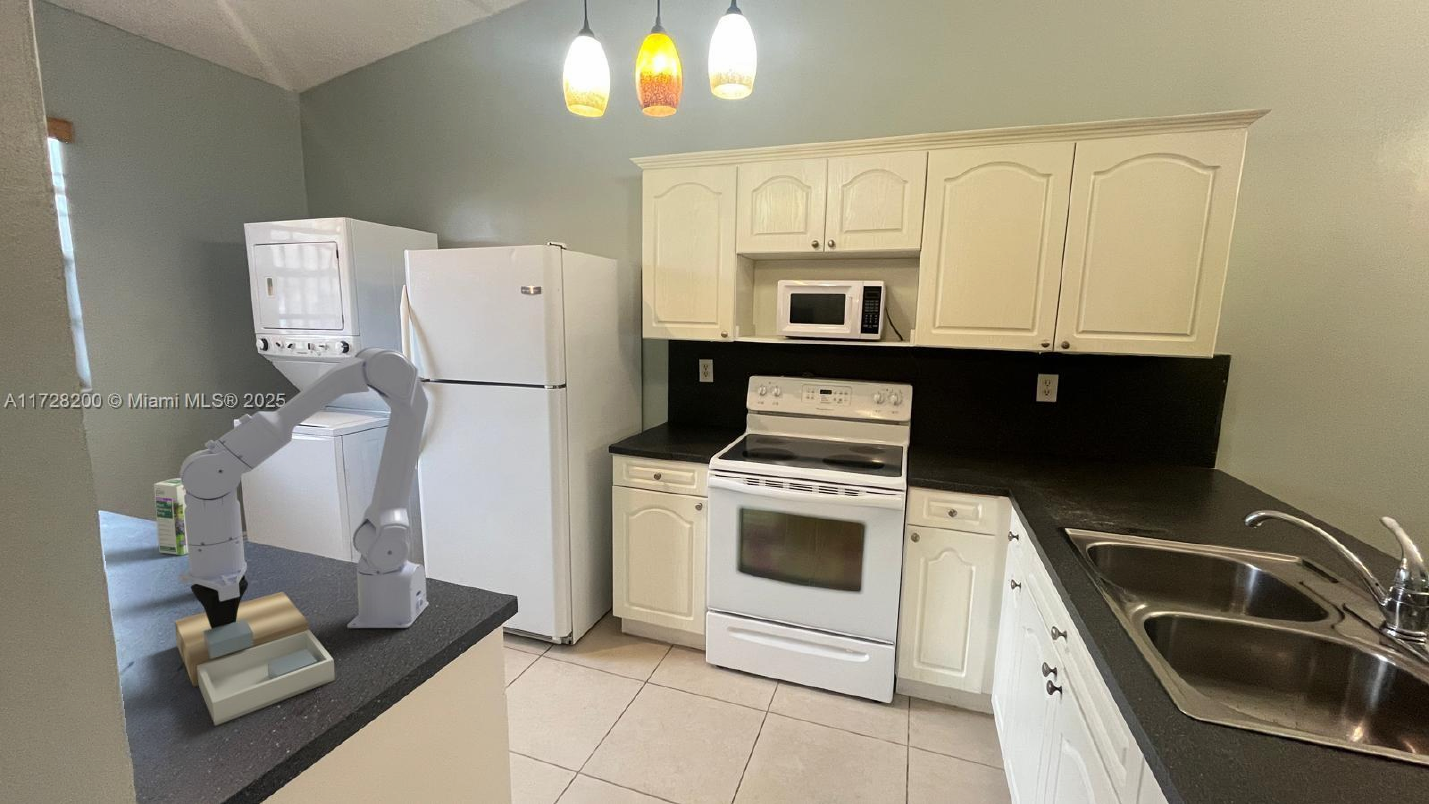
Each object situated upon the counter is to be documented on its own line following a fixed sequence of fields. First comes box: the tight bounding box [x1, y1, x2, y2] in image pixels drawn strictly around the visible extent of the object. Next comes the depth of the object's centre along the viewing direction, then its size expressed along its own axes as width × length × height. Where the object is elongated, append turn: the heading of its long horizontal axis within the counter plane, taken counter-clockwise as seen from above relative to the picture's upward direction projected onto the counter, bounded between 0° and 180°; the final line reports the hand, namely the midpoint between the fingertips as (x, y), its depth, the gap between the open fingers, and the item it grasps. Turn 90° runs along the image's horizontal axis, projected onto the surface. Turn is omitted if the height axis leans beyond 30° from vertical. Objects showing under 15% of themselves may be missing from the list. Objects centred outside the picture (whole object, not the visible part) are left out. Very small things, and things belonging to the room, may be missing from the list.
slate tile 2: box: [267, 649, 317, 679], centre depth 78 cm, size 4×4×2 cm
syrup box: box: [153, 477, 188, 556], centre depth 118 cm, size 6×6×14 cm
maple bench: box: [174, 591, 310, 688], centre depth 85 cm, size 14×13×4 cm
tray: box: [197, 629, 336, 727], centre depth 77 cm, size 11×12×3 cm
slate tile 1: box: [203, 619, 254, 659], centre depth 79 cm, size 4×4×2 cm
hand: (223, 631), depth 81 cm, fingers closed
